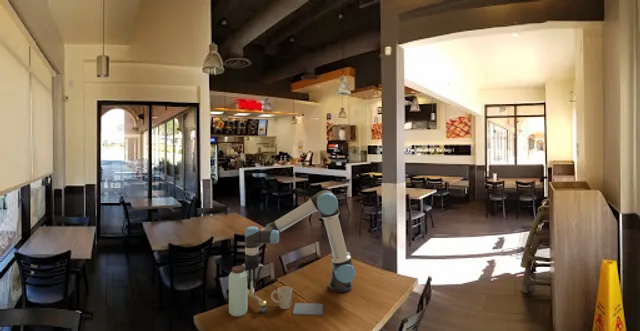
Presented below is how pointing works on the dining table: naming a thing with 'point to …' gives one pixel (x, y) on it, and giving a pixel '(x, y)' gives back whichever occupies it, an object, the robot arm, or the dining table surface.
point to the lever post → (263, 310)
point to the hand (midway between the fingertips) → (252, 292)
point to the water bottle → (238, 291)
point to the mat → (308, 309)
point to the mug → (283, 296)
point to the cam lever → (257, 299)
